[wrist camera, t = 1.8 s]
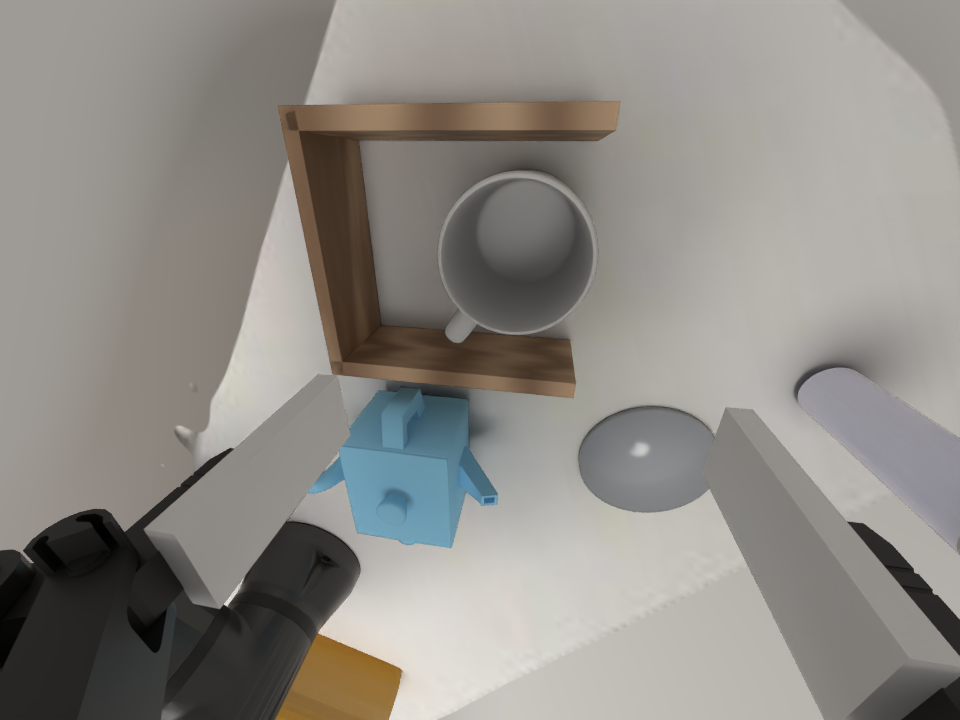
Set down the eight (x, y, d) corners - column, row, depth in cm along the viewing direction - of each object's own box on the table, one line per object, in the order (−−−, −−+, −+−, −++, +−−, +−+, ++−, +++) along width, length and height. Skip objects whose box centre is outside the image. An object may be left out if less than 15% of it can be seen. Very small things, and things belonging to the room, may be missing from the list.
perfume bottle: (780, 419, 32) (1061, 718, 14) (787, 361, 30) (1133, 637, 12) (860, 411, 30) (1280, 735, 13) (874, 351, 28) (1411, 647, 11)
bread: (404, 668, 67) (369, 790, 54) (385, 692, 73) (350, 806, 60) (281, 616, 65) (214, 728, 52) (272, 645, 72) (210, 751, 58)
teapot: (504, 490, 42) (490, 589, 32) (357, 470, 44) (301, 556, 34) (511, 370, 34) (496, 450, 24) (334, 354, 37) (255, 421, 27)
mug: (516, 142, 26) (497, 126, 16) (606, 219, 27) (639, 245, 17) (430, 275, 31) (378, 322, 22) (508, 333, 33) (492, 401, 23)
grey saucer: (571, 497, 40) (571, 502, 40) (588, 399, 34) (589, 404, 34) (696, 514, 38) (698, 520, 38) (738, 414, 32) (742, 419, 32)
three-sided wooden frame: (372, 336, 35) (332, 374, 28) (343, 121, 27) (277, 105, 20) (568, 352, 32) (573, 398, 26) (600, 120, 24) (620, 101, 18)
